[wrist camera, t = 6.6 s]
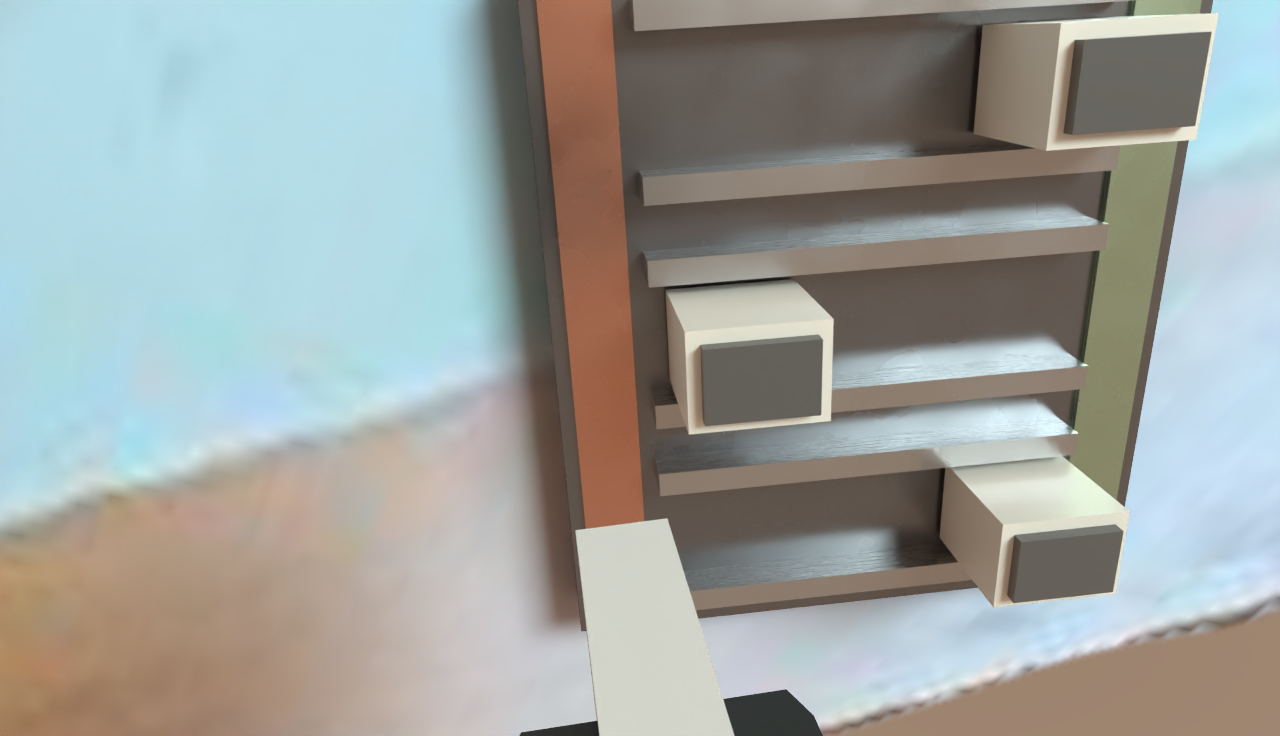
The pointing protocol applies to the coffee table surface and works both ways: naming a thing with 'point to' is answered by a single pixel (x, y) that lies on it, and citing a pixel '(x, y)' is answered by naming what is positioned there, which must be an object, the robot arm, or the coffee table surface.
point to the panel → (831, 276)
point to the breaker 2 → (1094, 80)
